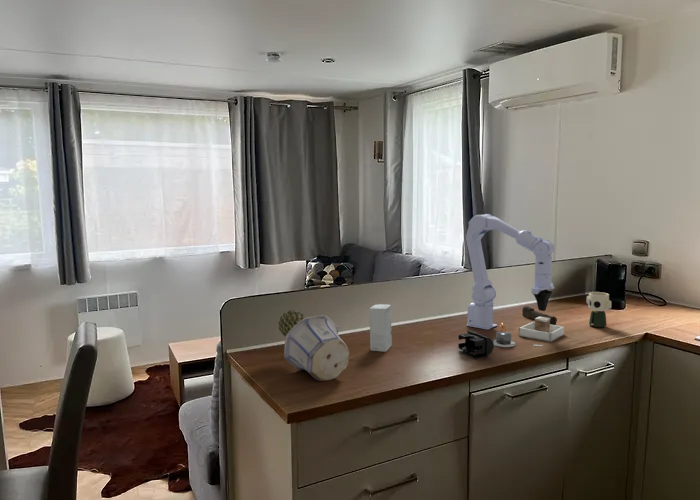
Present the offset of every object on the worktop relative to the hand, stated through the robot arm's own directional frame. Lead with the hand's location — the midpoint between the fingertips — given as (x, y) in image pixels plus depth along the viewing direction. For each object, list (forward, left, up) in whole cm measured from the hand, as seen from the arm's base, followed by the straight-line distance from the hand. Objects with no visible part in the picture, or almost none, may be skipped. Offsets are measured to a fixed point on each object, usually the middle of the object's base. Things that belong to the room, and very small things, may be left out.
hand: (542, 310), depth 196 cm
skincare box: (-36, -50, -10) cm, 62 cm away
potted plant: (-39, -80, -10) cm, 90 cm away
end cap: (-8, -35, -10) cm, 37 cm away
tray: (0, 0, -9) cm, 9 cm away
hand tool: (-11, +20, -10) cm, 25 cm away
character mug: (+11, +26, -10) cm, 30 cm away
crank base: (-2, -17, -9) cm, 19 cm away
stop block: (0, 0, -9) cm, 9 cm away
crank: (-7, -16, -9) cm, 19 cm away
